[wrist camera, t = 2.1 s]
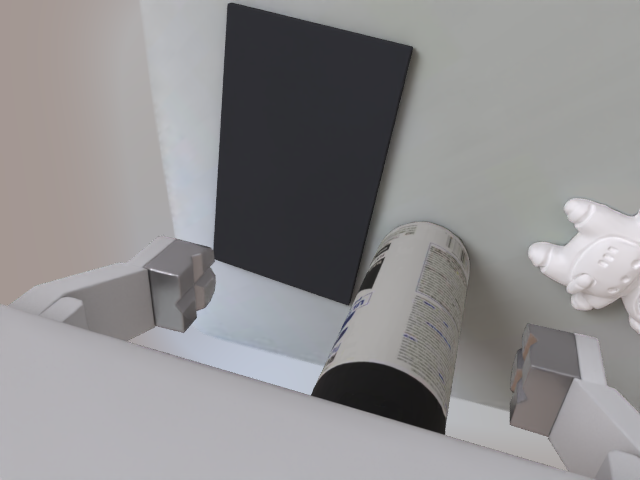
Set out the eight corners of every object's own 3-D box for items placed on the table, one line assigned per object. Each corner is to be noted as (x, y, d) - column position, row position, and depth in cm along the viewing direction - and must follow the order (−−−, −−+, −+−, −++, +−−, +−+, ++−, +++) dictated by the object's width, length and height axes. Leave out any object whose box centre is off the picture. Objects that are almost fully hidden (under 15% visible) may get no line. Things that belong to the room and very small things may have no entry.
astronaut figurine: (600, 159, 31) (606, 179, 29) (779, 266, 31) (801, 295, 29) (509, 260, 36) (507, 285, 34) (661, 353, 36) (671, 384, 34)
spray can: (383, 209, 38) (271, 427, 21) (481, 227, 36) (441, 479, 20) (375, 286, 41) (273, 523, 25) (464, 306, 39) (418, 575, 23)
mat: (231, 2, 34) (227, 3, 34) (413, 46, 32) (411, 48, 31) (216, 255, 45) (212, 258, 44) (350, 301, 43) (348, 305, 42)
